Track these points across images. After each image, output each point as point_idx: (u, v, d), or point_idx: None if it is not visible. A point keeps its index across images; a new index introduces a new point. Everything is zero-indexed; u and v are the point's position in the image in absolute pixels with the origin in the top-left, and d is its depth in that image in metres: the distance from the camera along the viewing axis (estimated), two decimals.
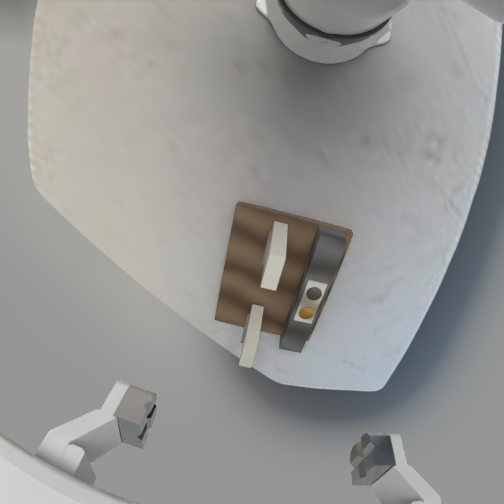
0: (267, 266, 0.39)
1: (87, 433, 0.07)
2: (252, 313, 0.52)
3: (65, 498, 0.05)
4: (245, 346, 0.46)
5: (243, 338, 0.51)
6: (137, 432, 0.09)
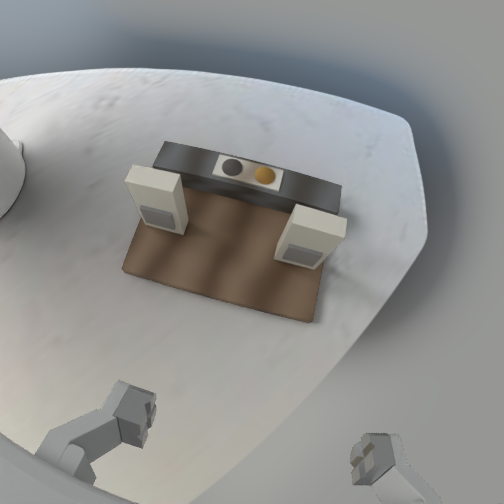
0: (141, 183, 0.28)
1: (87, 433, 0.07)
2: (277, 249, 0.35)
3: (65, 498, 0.05)
4: (295, 221, 0.28)
5: (312, 251, 0.32)
6: (137, 432, 0.09)
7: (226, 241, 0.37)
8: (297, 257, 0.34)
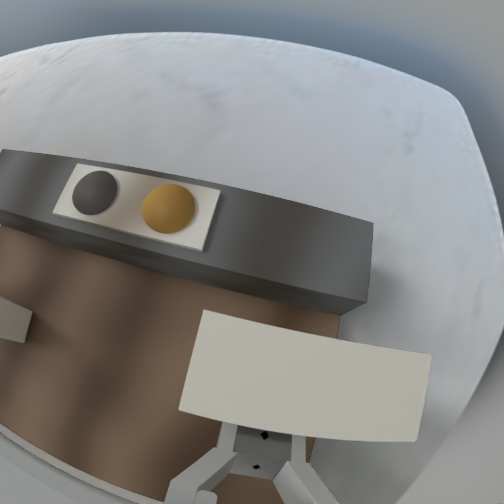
0: None
1: (213, 475, 0.07)
2: None
3: (65, 498, 0.05)
4: (194, 403, 0.05)
5: None
6: (255, 462, 0.09)
7: (100, 364, 0.15)
8: None
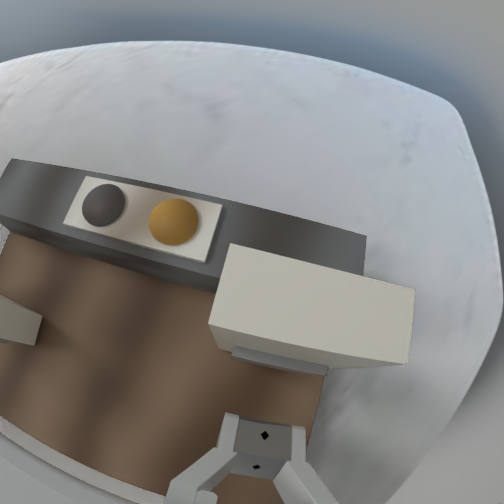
0: None
1: (213, 475, 0.07)
2: None
3: (65, 498, 0.05)
4: (221, 317, 0.07)
5: (300, 365, 0.11)
6: (255, 462, 0.09)
7: (107, 366, 0.16)
8: (264, 365, 0.13)
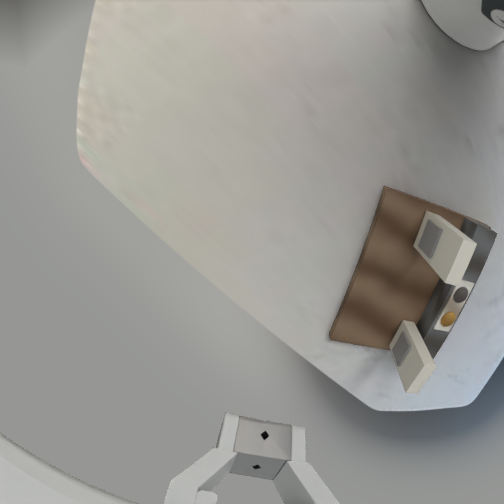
0: (458, 255, 0.27)
1: (213, 475, 0.07)
2: (409, 330, 0.39)
3: (65, 498, 0.05)
4: (424, 367, 0.32)
5: (402, 360, 0.38)
6: (255, 462, 0.09)
7: (402, 280, 0.39)
8: (400, 345, 0.39)
